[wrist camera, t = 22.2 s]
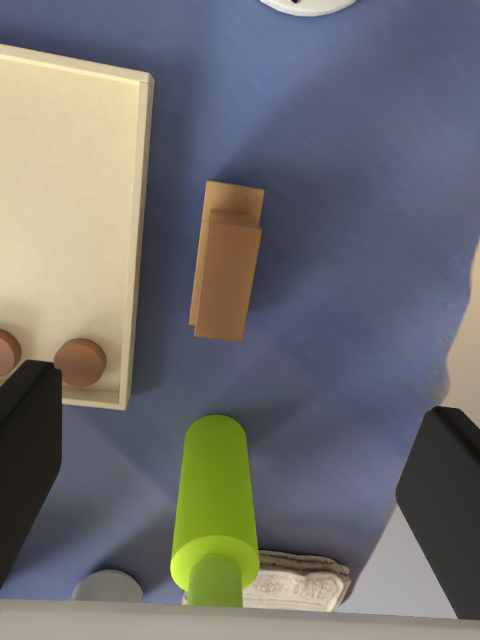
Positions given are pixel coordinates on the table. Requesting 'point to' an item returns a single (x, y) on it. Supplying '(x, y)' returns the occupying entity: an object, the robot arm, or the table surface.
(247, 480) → the lime green pump bottle
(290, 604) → the washcloth
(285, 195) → the table surface
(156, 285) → the table surface
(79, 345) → the cork disc
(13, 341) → the cork disc
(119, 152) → the tray
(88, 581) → the can
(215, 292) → the brush
